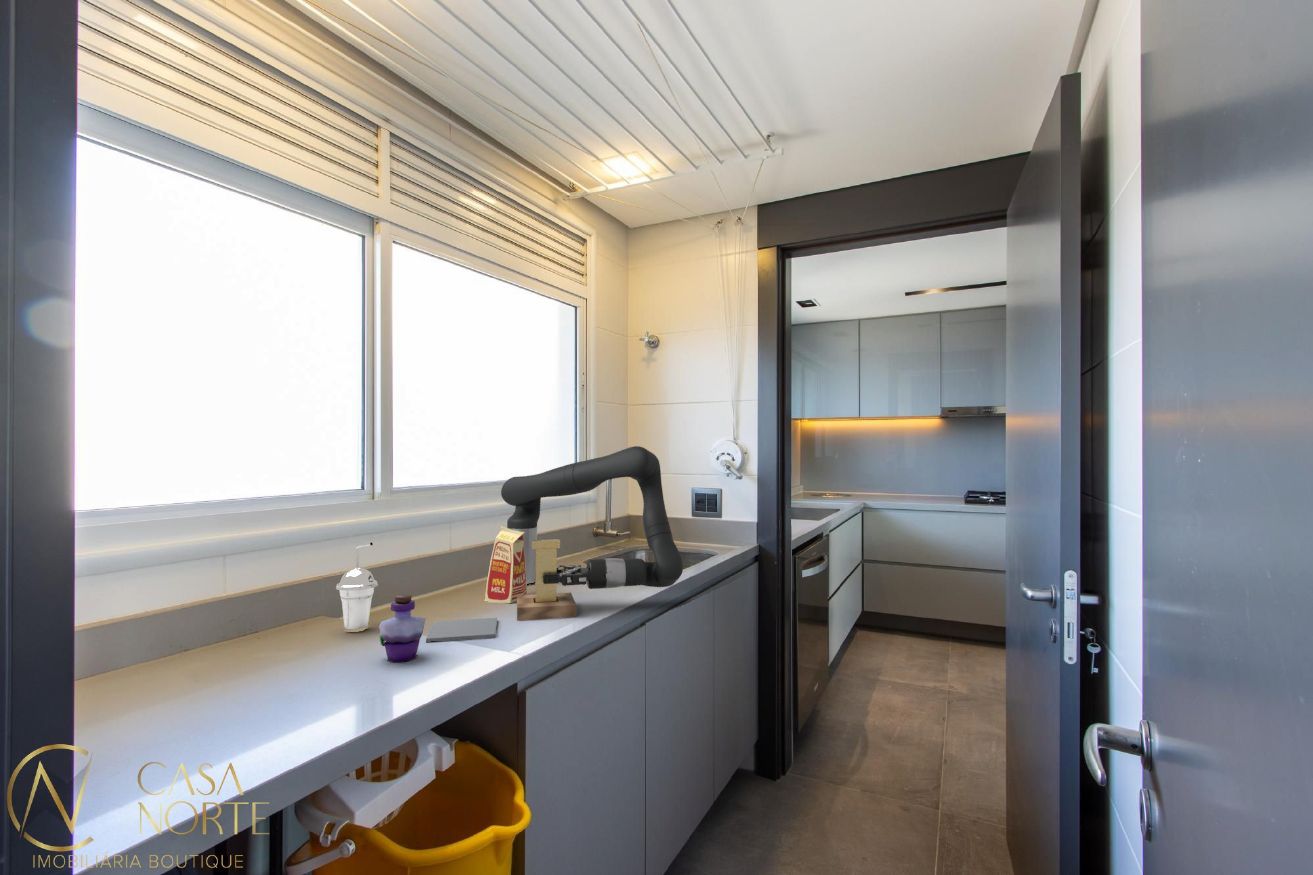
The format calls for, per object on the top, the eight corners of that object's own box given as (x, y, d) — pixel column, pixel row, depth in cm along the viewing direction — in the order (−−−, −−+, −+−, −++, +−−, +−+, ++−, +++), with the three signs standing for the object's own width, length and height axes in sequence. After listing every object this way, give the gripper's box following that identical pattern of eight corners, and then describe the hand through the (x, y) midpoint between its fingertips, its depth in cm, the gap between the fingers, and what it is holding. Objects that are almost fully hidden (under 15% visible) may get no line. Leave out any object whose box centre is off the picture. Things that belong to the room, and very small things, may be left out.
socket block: (517, 620, 142) (517, 607, 142) (517, 606, 156) (517, 595, 156) (576, 617, 145) (576, 604, 145) (570, 603, 159) (571, 592, 159)
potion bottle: (373, 656, 116) (374, 594, 116) (419, 648, 121) (419, 588, 122) (383, 668, 109) (384, 602, 109) (432, 659, 114) (432, 596, 115)
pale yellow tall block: (531, 615, 147) (532, 541, 148) (531, 610, 152) (531, 539, 153) (560, 613, 149) (560, 540, 149) (558, 608, 154) (559, 538, 154)
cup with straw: (374, 623, 140) (375, 537, 141) (380, 632, 133) (381, 541, 133) (333, 628, 136) (335, 540, 136) (336, 638, 128) (338, 544, 129)
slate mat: (426, 642, 125) (426, 638, 125) (434, 624, 138) (434, 621, 139) (495, 637, 128) (495, 634, 128) (497, 620, 142) (497, 617, 142)
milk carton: (484, 601, 162) (485, 527, 162) (502, 594, 170) (503, 524, 171) (514, 603, 159) (514, 528, 160) (531, 596, 168) (531, 525, 169)
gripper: (602, 554, 161) (541, 556, 158) (610, 563, 148) (543, 565, 144) (602, 582, 161) (541, 585, 157) (610, 593, 147) (543, 597, 144)
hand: (542, 576), depth 151 cm, fingers open, 8 cm apart
